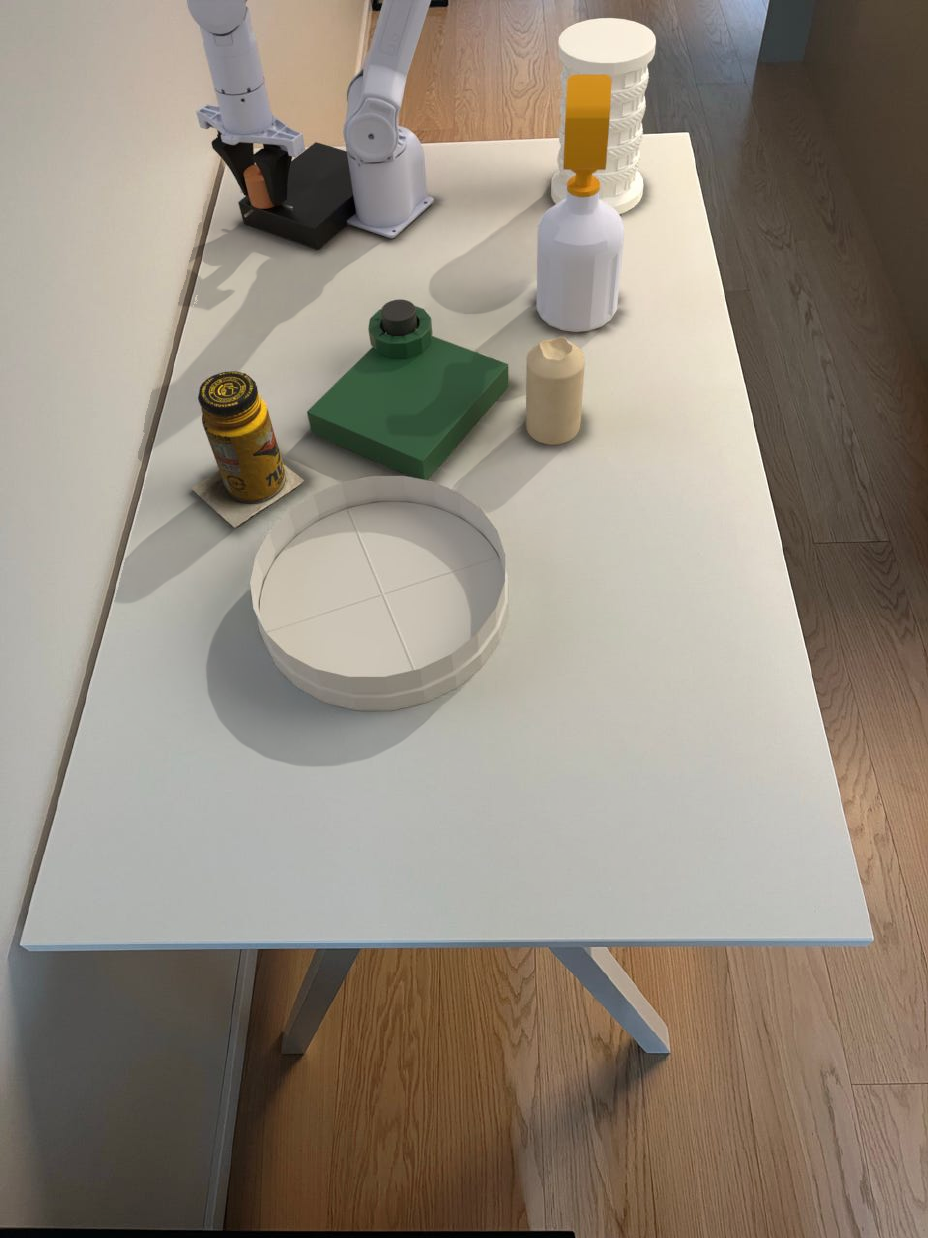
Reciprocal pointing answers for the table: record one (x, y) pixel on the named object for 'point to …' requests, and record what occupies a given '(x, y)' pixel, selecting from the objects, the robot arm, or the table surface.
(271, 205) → the dial
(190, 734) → the table surface
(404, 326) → the dark grey short cylinder
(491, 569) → the dish
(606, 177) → the decorative container
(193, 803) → the table surface
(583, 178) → the soap bottle
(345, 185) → the panel
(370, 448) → the button base
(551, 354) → the candle
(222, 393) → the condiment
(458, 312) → the table surface
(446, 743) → the table surface
